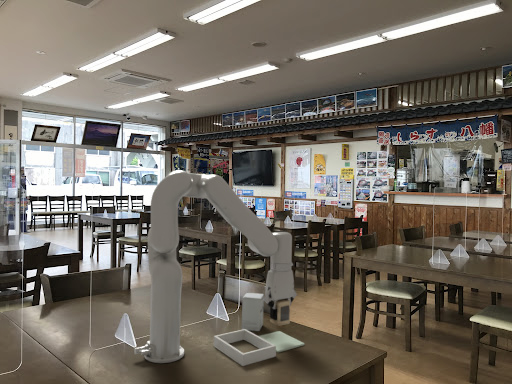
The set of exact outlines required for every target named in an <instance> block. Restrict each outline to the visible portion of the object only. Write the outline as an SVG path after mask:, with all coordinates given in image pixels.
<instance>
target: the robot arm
mask: <svg viewBox="0 0 512 384" xmlns="http://www.w3.org/2000/svg"><path fill="white" fill-rule="evenodd" d="M183 197H187V198H193V199H194V198H195V199H197V198H198V199H206V200H208V202H209V203H210V204H211V205H212V206H213V208H215V210H216V211H217V212H218V213H219V214H220V216H221V217H222V218H223V219H224V220H225V221H226V223H228V224H229V225H230V226H232V227H233V228H234V229H236V230H238V231H239V232H240V233H241V234H242V235H243V236H244V237H246V239H247V245H248V248H249V249H250V250H251V251H253V252H254V253H256V254H258V255H260V256H262V257H270V262H269V263H270V265H269V267H270V269H269V270H268V271H267V274H266V281H265V293H264V294H265V295H264V298H263V303H265V304H266V305H267V306H268V307H269V308H270V309H269V319H270V318H271V319H274V320H277V309H276V306H277V301H278V300H282V299H287V300H289V301H290V307H291V306H292V303H293V301H294V299H295V298H296V297H297V295H298V293H297V291H296V290H295V280H294V279H295V278H294V271H293V270H292V266H294V263H293V262H292V257H293V256H292V254H293V253H292V251H293V248H292V247H293V235H292V234H291V233H290V232H287V231H275V232H272V231H271V230H270V229H269V228H268V226H267V225H266V224H265V223H264V222H263V221H262V220H261V218H259V217H258V216H257V215H256V214H255V213H254V212H253V211H252V210H251V209H250V208H249V207H248V206H247V205H246V204H245V203H244V202H243V200H242V199H241V198H240V197H239V196H238V194H236V192H235V191H234V190H233V188H232V187H231V186H230V185H229V184H228V183H227V181H226V180H225V179H224V178H223V177H222V176H220V175H218V174H212V173H211V174H202V173H192V172H191V173H190V172H188V171H185V170H181V169H179V170H178V169H177V170H173V171H170V172H169V173H167V174H166V176H165V177H164V178H163V179H162V180H161V181H160V182H158V184H157V185H156V187H155V189H154V191H153V193H152V195H151V200H150V228H149V229H148V232H147V253H148V255H147V256H148V270H149V274H150V278H151V280H150V281H151V283H150V284H151V285H150V286H151V287H150V304H149V305H150V307H149V308H150V311H149V313H150V314H149V315H150V316H149V319H150V320H149V321H150V322H149V340H148V341H146V344H144V345H143V346H138V347H134V348H133V349H134V350H133V353H134V355H138V354H140V355H141V356H144V359H145V360H146V361H148V362H151V363H155V364H166V363H167V364H168V363H173V362H176V361H178V360H180V359H181V358H183V357H184V355H185V349H184V347H182V346H181V343H180V342H181V341H180V339H181V310H182V309H181V308H182V307H181V306H182V305H181V304H182V302H181V299H182V287H183V270H182V269H183V268H182V266H181V263H179V261H178V259H177V248H178V246H179V242H180V234H179V217H178V215H179V212H178V211H179V210H178V208H179V203H180V202H181V199H182V198H183ZM273 301H274V303H273Z"/></svg>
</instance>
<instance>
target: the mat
mask: <svg viewBox="0 0 512 384" xmlns="http://www.w3.org/2000/svg"><path fill="white" fill-rule="evenodd" d="M258 336H259V337H261V338H263V339H264V340H266V341H268V342H270V343H272V344H273V345H275V346H276V353H281V352H285V351H288V350H291V349H295V348H296V349H297V348H299V347H302V346H305V342H303V341H301V340H299V339H297V338H294V337H293V336H290V335H288V334H287V333H284V332H282V331H280V330H279V331H277V330H276V331H273V332H270V333H265V334H261V335H258Z"/></svg>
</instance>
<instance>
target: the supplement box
mask: <svg viewBox="0 0 512 384" xmlns="http://www.w3.org/2000/svg"><path fill="white" fill-rule="evenodd" d="M264 294H265V293H257V292H246V293H245V294H244V295H243V297H242V302H241V303H242V307H241V309H242V310H241V330H243V329H246V330H248V331H253V332H260V331H261V329H262V326H263V325H264V301H263V298H264V297H265V295H264Z"/></svg>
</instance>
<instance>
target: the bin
mask: <svg viewBox="0 0 512 384" xmlns="http://www.w3.org/2000/svg"><path fill="white" fill-rule="evenodd" d="M259 336H260V335H257V334H255V333H254V332H251V330H246V329H239V330H235V331H230V332H226V333H222V334H217V335H213V347H214V348H216V349H217V350H219V351H220V352H222V353H223V354H224V355H226V356H227V357H229V358H230V359H231V360H233V361H234V362H236V363H237V364H239V365H240V366H242V367H244V366H248V365H252V364H254V363H258V362H261V361H265V360H268V359H272V358H275V357H276V355H277V352H276V346H275V345H273V344H272V343H270V342H268V341H266V340H264V339H263V338H261V337H259ZM243 340H244V341H246V342H248V343H249V344H251V345H252V346H254V347H256V348H258V349H255V350H251V351H247V352H242V351H241V350H239V349H238V348H236V347H235V346H234V345H231V344H232V343H237V342H241V341H243Z"/></svg>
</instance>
